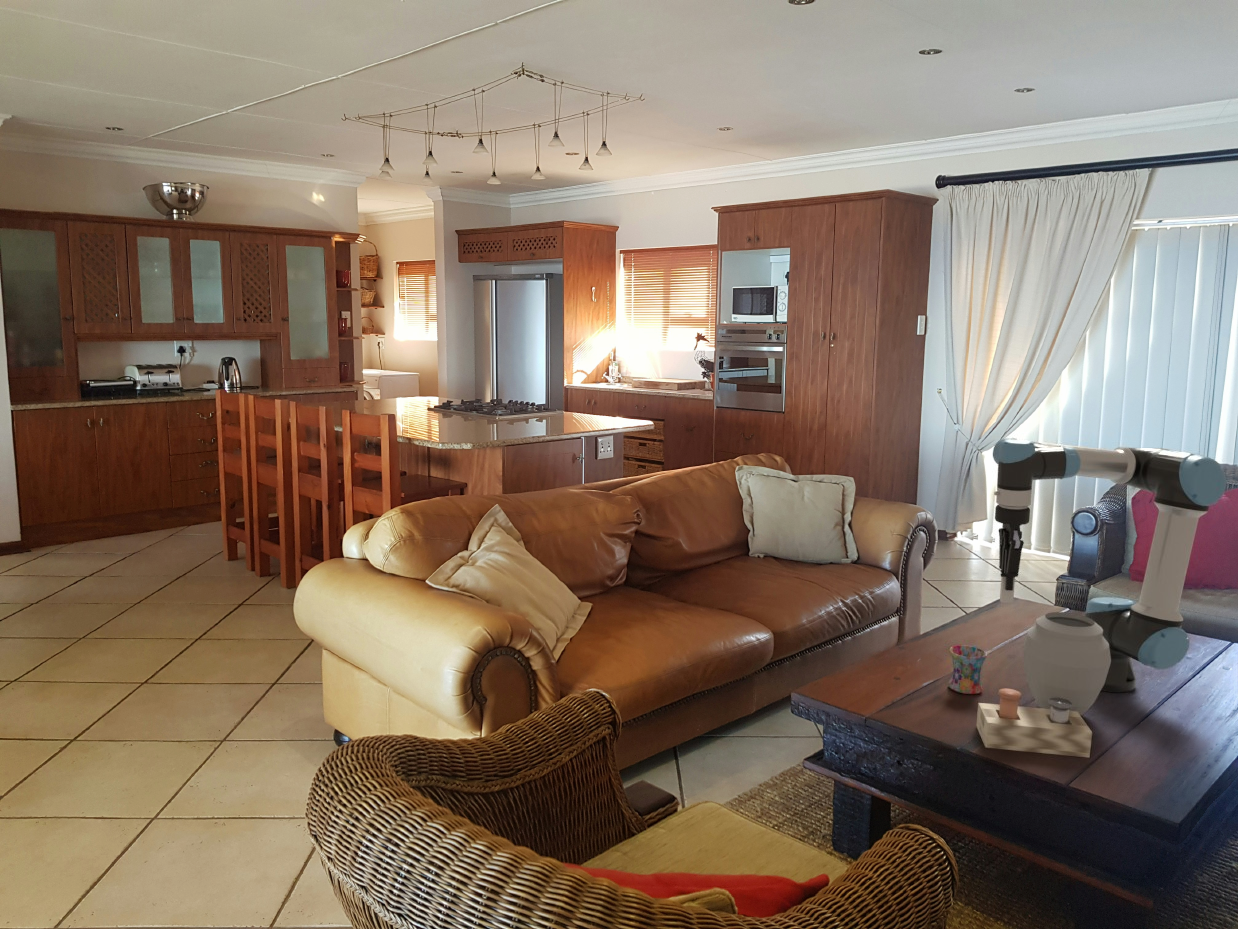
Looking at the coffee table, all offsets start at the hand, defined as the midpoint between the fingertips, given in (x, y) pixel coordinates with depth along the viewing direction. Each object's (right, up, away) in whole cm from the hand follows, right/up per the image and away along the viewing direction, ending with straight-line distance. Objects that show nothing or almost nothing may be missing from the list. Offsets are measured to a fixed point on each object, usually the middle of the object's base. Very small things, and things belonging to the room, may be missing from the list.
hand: (1006, 601), depth 219 cm
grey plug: (+8, -30, -9) cm, 32 cm away
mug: (-1, -26, +22) cm, 35 cm away
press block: (+2, -31, -8) cm, 32 cm away
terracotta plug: (-3, -28, -7) cm, 29 cm away
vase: (+17, -29, +8) cm, 34 cm away
